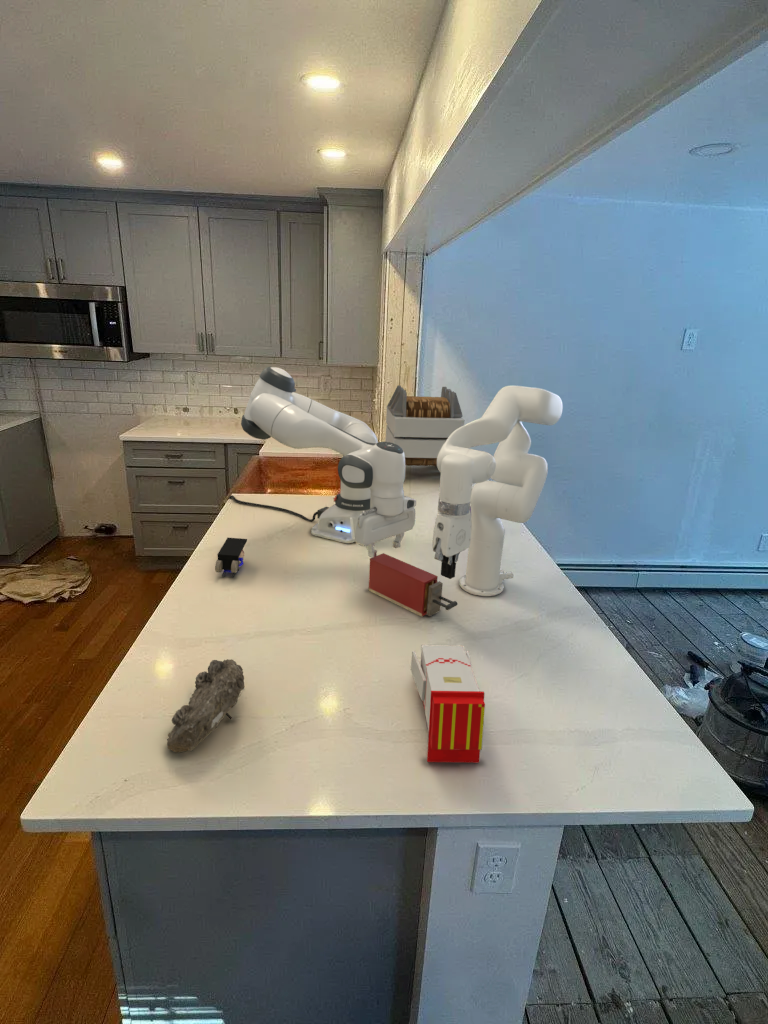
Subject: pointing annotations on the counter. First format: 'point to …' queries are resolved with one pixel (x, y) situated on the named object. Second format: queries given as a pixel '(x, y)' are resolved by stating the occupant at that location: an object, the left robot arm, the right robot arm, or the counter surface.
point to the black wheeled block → (230, 556)
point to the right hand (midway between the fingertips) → (447, 576)
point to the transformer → (422, 424)
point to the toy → (450, 703)
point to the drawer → (435, 598)
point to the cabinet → (399, 582)
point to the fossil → (206, 705)
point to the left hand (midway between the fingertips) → (384, 551)
